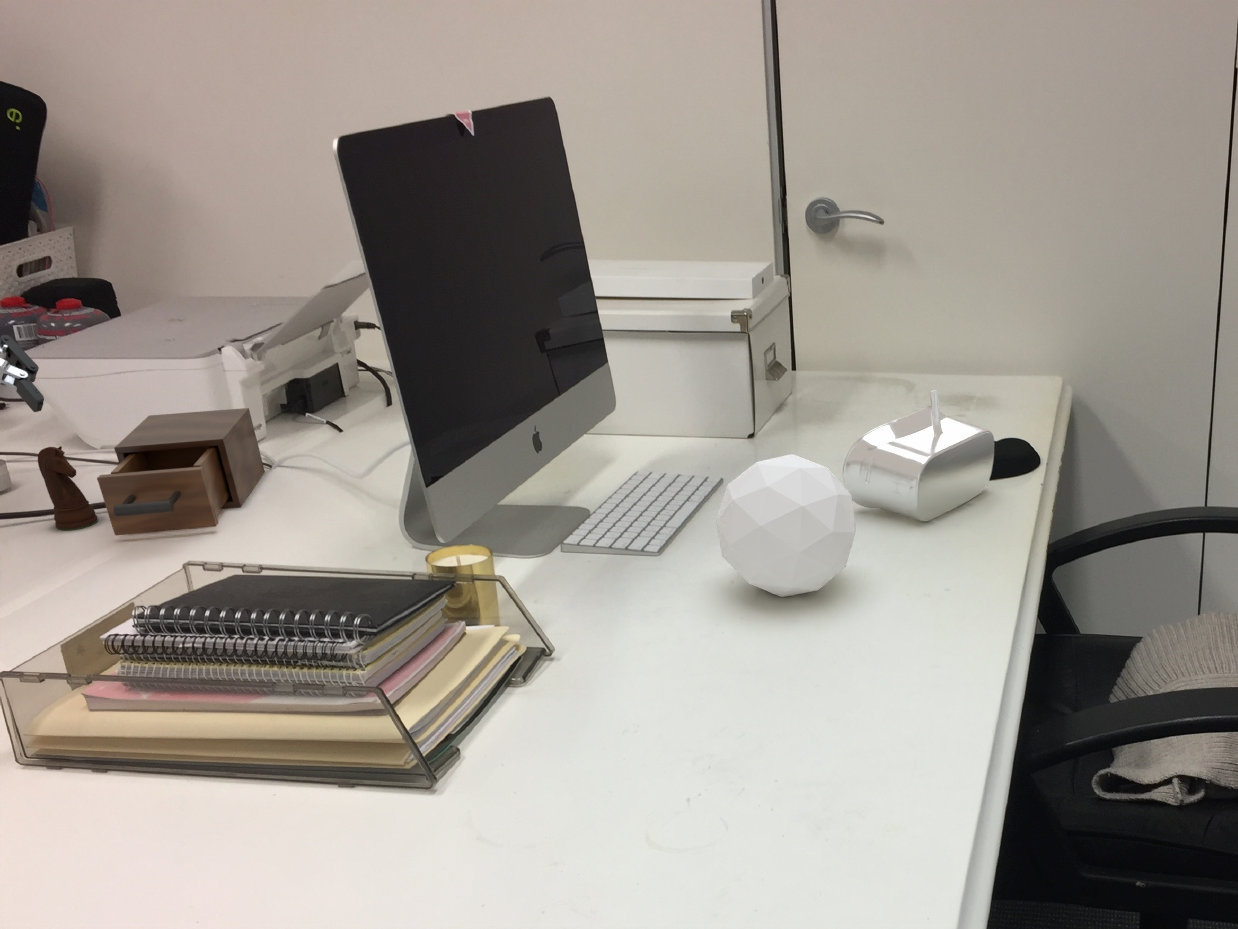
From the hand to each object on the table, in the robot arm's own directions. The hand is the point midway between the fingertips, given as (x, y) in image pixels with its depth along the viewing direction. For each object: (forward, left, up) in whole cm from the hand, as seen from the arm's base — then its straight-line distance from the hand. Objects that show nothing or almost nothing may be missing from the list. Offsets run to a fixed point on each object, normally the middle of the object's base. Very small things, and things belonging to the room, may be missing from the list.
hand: (5, 416), depth 153 cm
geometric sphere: (+90, -48, -13) cm, 103 cm away
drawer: (+19, -9, -12) cm, 24 cm away
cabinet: (+19, +3, -13) cm, 23 cm away
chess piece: (+6, -5, -13) cm, 15 cm away
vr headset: (+110, -25, -13) cm, 114 cm away
